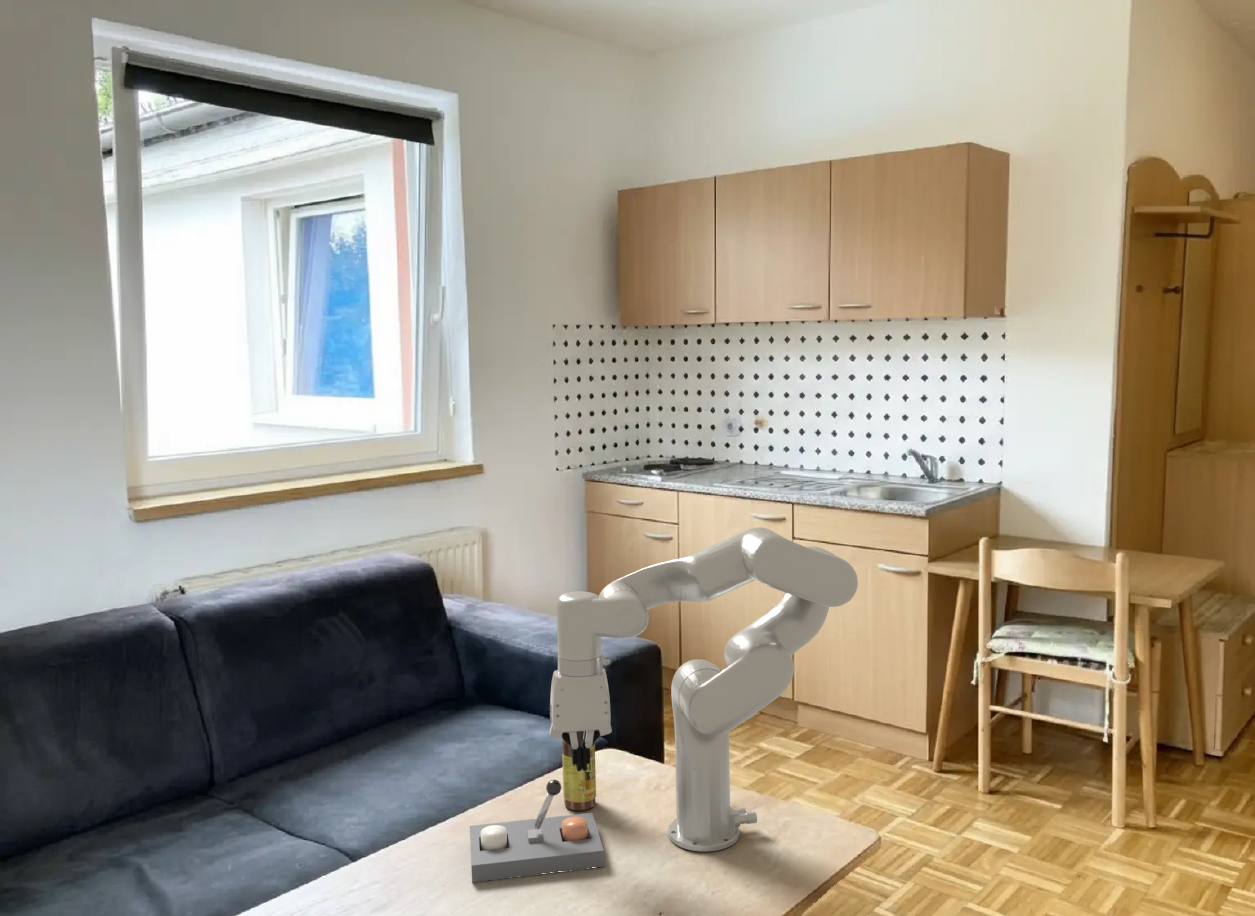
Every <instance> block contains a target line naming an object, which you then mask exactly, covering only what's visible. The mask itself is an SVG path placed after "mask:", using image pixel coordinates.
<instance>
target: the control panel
mask: <svg viewBox="0 0 1255 916" xmlns="http://www.w3.org/2000/svg"><path fill="white" fill-rule="evenodd" d="M569 817H583V818H585V819H586V820H587V826H588V839H584V840H575V841H566V842H563V836H562V822H563V820H565V819H566V818H569ZM536 819H537V818H531V819H529V818H528V819H523V820H522V819H521V820H514V821H513V820H512V821H504V822H493V823H484V824H475V825H469V836H470V841H469V842H470V858H471V859H470V862H471V863H470V864H471V884H474V883H481V882H480V881H484V882H488V881H487V880H492V881H499V880H498V879H501V880H505V879H504V878H510V877H518V876H527V877H532V876H531V875H535V876H538V875H537V874H542V873H550V872H558V871H569V872H571V871H570V870H578V871H583V870H582V869H587V868H592V867H604V868H605V850H604V847H603V843H602V839H601V837H600V834H599V830H598V826H597V823H596V820H595V816H594V814H593V812H588V813H577V814H568V815H559V816H549V817H545V818H544V821H543V823H542V825H541V828H540V829H538V830H536V829H535V828H534V824H535V822H536ZM492 825H500V826H503V827H505V828H506V830H507V848H503V849H494V850H485V851H481V830H482V829H483V828H485V827H488V826H492ZM587 870H588V869H587ZM518 878H519V877H518ZM510 879H511V878H510Z"/></svg>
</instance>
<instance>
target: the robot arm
mask: <svg viewBox="0 0 1255 916" xmlns="http://www.w3.org/2000/svg"><path fill="white" fill-rule="evenodd" d="M756 580H757V581H758V582H759V583H761V584H763V585H765V586H767V587H769V588H772V589H775V590H777V591H779V592H782V593H785V594H784V596H783V597H782V599H781V600H780V601H778V603H777V604H776V605H774V606H773V607H772V608H771V609H769V611H767V612H765V613H764V614H762V615H761V616H760V617H758V618H757V619H755V620H753V622H751V623H749V624H748V625H747V626H745V627H744V628H742V629H741V630H739V631H738V632H736V633H735V634H734V635H732V636H731V637H730V639H729V640H728V641H727V642H726V644H725V647H724V650H723V651H724V652H723V653H724V655H723V656H724V660H725V663H726V665H727V666H726V667H725V668H723V669H722V670H721V669H720V668H719V667H718V666H717V665H716V664H714V663H713V662H710V661H708V660H706V659H701V658H699V659H697V658H695V659H691V660H688V661H686V662H684V663H683V664H681V665H680V666H679V667H678V668H677V670H676V671H675V674H673V677H672V680H671V688H670V689H671V691H670V694H671V695H670V696H671V705H672V712H673V714H672V716H673V724H674V725H673V726H674V743H675V745H674V746H675V747H674V749H675V751H674V756H675V758H674V759H675V794H676V796H675V799H676V800H675V801H676V819H674V820H673V821H671V823H670V824H669V825H668V829H667V831H668V833H667V834H668V838H669V839H670V841H671V842H672V843H673V844H675V845H676V846H677V847H680V848H681V849H685V850H688V851H692V852H701V853H702V852H705V853H707V852H716V851H721V850H725V849H727V848H729V847H731V846H733V845H734V844H735V843H737V841H738V840H739V838H740V827H741V825H745V824H747V825H751V824H757V823H758V815H757V812H756V811H749V812H747V810H746V809H747V808H746V807H739V808H733V807H731V790H730V789H731V784H730V783H731V782H730V781H731V779H730V772H731V771H730V734H729V733H730V731H731V730H734V729H735V728H737V727H739V726H741V724H742V723H744V722H746V721H747V720H748V719H750V718H751V717H753V716H754V715H756V714H757V713H758V712H760V711H761V710H762V709H764V708H765V707H767V706H769V705H770V704H771V703H772V702H773V701H775V700H777V699H778V698H779V697H780V696H781V695H782V694H783V693H785V691H786V690H787V688H788V687H789V686H790V684H791V682H792V679H793V676H794V673H795V665H794V660H793V657H792V656H793V655H794V654H795V653H797V652H798V651H799V650H800V649H802V648H803V647H804V646H805V645H806V644H808V643H809V642H810V641H812V639H814V638H815V636H817V634H818V633H819V632H820V630H821V629H822V627H823V625H824V624H825V622H826V619H827V617H828V613H829V609H830V608H835V607H836V608H838V607H841V606H844V605H845V604H847V603H849V602H851V600H852V599H853V598H854V596H855V595H856V593H857V590H858V587H859V586H858V584H859V580H858V575H857V572H856V570H855V569H854V567H853V566H852V565H851V564H850V563H849V562H848V561H847V560H845V559H843V558H841V557H840V556H838V555H836V554H834V553H832V552H830V550H826V549H825V548H822V547H818V546H808V547H807V546H805V545H804V546H803V545H801V544H799V543H797V542H794V541H793V540H790V539H789V538H786V537H784V536H782V535H780V534H778V533H776V531H775V532H774V531H773V530H771V529H769V528H765V527H759V526H758V527H754V528H750V529H747V530H745V531H742V532H740V533H737V534H735V535H732V536H731V537H728V538H726V539H724V540H722V541H720V542H719V541H718V542H717V543H715V544H713V545H711V546H708V547H706V548H704V549H701V550H699V551H697V552H695V553H693V554H690V555H688V556H684V557H680V558H674V559H671V560H668V561H664V562H660V563H656V564H652V565H650V566H647V567H644V568H641V569H638V570H636V571H634V572H631V573H630V574H629V573H628V574H626V575H624V576H623V577H620V578H617V579H616V580H614V581H612V582H610V583H608V584H607V585H606V586H605V587H603V589H602V590H601V591H600V593H599V594H597V593H593V592H590V591H576V590H575V591H569V592H565V593H563V594H561V595H560V596H559V597H558V599H557V603H556V622H557V623H556V625H557V626H556V627H557V628H556V629H557V630H556V632H557V635H556V636H557V670H554V671H553V674H552V679H551V685H550V686H551V687H550V700H549V702H550V703H549V705H550V706H549V711H550V712H549V718H550V728H549V736H550V737H551V738H552V739H558V740H562V741H563V740H565V741H566V742H567V743H568V744H569V745H570V746H571V747H572V764H573V765H576V768H577V771H581V770H584V771H587V764H590V748H591V747H592V744H593V743H595V742H596V741H597V740H598V739H599V738H600V737H603V736H606V735H610V734H611V733H612V731H613V729H612V725H611V721H612V720H611V702H610V692H609V690H610V689H609V684H608V678H607V673H606V669H605V668H604V666H606V665H610V664H611V656H609V655H608V656H606V655H604V654H602V653H603V652H602V646H603V645H602V642H603V641H602V638H609V639H610V638H612V639H623V640H624V639H625V640H626V639H627V640H628V639H633V638H637V637H638V636H639V635H641V634H642V633H643V632H644V631H645V630H646V629H647V627H648V625H649V620H650V619H649V618H650V617H649V615H650V614H649V610H650V609H653V608H656V607H658V606H661V605H664V604H669V603H674V602H690V603H706V602H710V601H712V600H715V599H717V598H718V597H721V596H723V595H725V594H728V593H729V592H732V591H734V590H737V589H739V588H740V587H741V588H742V587H743V586H745V585H747V584H750V583H752V582H755V581H756ZM582 731H584V737H583V740H582V742H581V744H579V741H578V740H577V734H576V732H582Z"/></svg>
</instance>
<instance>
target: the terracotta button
mask: <svg viewBox="0 0 1255 916" xmlns="http://www.w3.org/2000/svg"><path fill="white" fill-rule="evenodd" d="M562 836H563V842H566V841H575V840H584V839H588V826H587V820H586V819H585V818H583V817H569V818H566V819H565V820H563V822H562Z"/></svg>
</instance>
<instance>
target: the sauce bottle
mask: <svg viewBox="0 0 1255 916" xmlns="http://www.w3.org/2000/svg"><path fill="white" fill-rule="evenodd" d="M576 734H577V740H578V741H579V744H581V742H582V740H583V737H584V731H582V732H576ZM561 757H562V785H563V787H562V788H563V790H562V791H563V800H564V802H563V803H564V806H565V807H566V808H567V809H568V810H571V811H578V812H579V811H580V812H581V811H585V810H586V811H587V810H589V809H591V808H593V807H594V806H595V805H596V797H597V785H596V784H597V779H596V775H597V774H596V773H597V772H596V744H595V742H594V743H593V744H592V747H591V748H590V764H587V771H584V770H581V771H577V768H576V765H573V764H572V747H571V746H570V745H569V744H568V743H567V742H566V741H565V740H563V739H562V756H561Z"/></svg>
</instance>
